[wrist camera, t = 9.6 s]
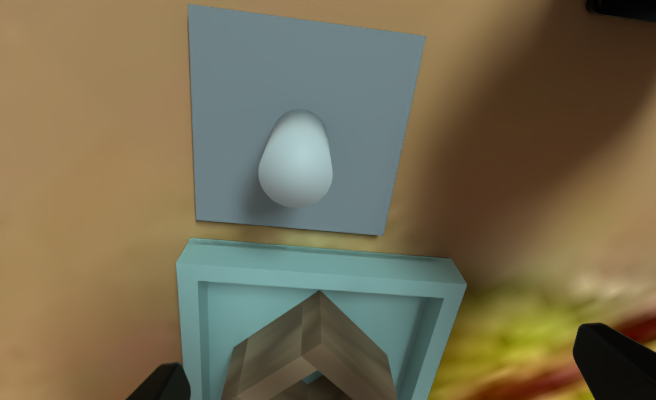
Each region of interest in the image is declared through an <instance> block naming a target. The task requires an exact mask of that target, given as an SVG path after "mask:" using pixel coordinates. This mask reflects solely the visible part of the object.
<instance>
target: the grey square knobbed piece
mask: <svg viewBox="0 0 656 400" xmlns="http://www.w3.org/2000/svg"><path fill="white" fill-rule="evenodd" d="M188 21H189V47H190V73H191V99H192V125H193V152H194V178H195V204H196V220H203V221H215V222H227V223H239V224H251V225H263V226H275V227H286V228H298V229H310V230H322V231H334V232H346V233H358V234H369V235H381V236H383V235H384V230H385V225H386V221H387V216H388V211H389V207H390V202H391V197H392V193H393V188H394V183H395V179H396V174H397V169H398V165H399V160H400V155H401V151H402V146H403V141H404V137H405V132H406V127H407V123H408V118H409V113H410V109H411V104H412V99H413V95H414V90H415V85H416V81H417V76H418V71H419V67H420V62H421V57H422V53H423V48H424V43H425V39H426V36H420V35H413V34H406V33H398V32H391V31H384V30H376V29H369V28H361V27H354V26H347V25H339V24H332V23H324V22H317V21H310V20H302V19H295V18H287V17H280V16H273V15H265V14H258V13H251V12H243V11H236V10H228V9H221V8H214V7H206V6H199V5H191V4H188Z"/></svg>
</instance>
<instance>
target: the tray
mask: <svg viewBox="0 0 656 400" xmlns="http://www.w3.org/2000/svg"><path fill="white" fill-rule="evenodd" d="M176 268H177V283H178V297H179V312H180V327H181V341H182V356H183V369H184V371H185V374H186V376H187V379H188V381H189V384H190V387H191V397H190V400H221V396H222V392H223V388H224V384H225V380H226V376H227V372H228V368H229V364H230V360H231V356H232V352H233V348H234V347H235V346H236V345H238V344H239V343H241V342H242V341H244V340H245V339H247V338H248V337H250V336H251V335H253V334H254V333H256V332H257V331H259V330H260V329H262V328H263V327H265V326H266V325H268V324H269V323H271V322H272V321H274V320H275V319H277V318H278V317H280V316H281V315H283V314H284V313H286V312H287V311H289V310H290V309H292V308H293V307H295V306H296V305H298V304H299V303H301V302H302V301H304V300H305V299H307V298H308V297H310V296H311V295H313V294H314V293H316V292H317V291H319V290H321V291H322V292H323V293H324V294H325V295H326V296H327V297H328V298H329V299H330V300H331V301H332V302H333V303H334V304H335V305H336V306H337V307H338V308H339V309H340V310H341V311H342V312H343V313H344V314H345V315H346V316H347V317H349V318H350V319H351V320H352V321H353V322H354V323H355V324H356V325H357V326H358V327H359V328H360V329H361V330H362V331H363V332H364V333H365V334H366V335H367V336H368V337H369V338H370V339H371V340H372V341H373V342H374V343H375V344H376V345H377V346H378V347H380V348H381V349H382V350H383V351H384V352H385V353H386V354H387V357H388V361H389V365H390V369H391V374H392V378H393V382H394V387H395V391H396V395H397V400H427V398H428V395H429V392H430V389H431V387H432V384H433V381H434V378H435V375H436V372H437V369H438V367H439V364H440V361H441V358H442V355H443V352H444V349H445V347H446V344H447V341H448V338H449V335H450V332H451V330H452V327H453V324H454V321H455V318H456V315H457V312H458V310H459V307H460V304H461V301H462V298H463V295H464V292H465V290H466V287H467V283H466V282H465V280H464V278H463V277H462V275H461V273H460V272H459V270H458V269H457V267H456V265H455V264H454V262H453V260H452V259H450V258H438V257H425V256H413V255H401V254H388V253H376V252H363V251H351V250H338V249H326V248H313V247H301V246H288V245H276V244H263V243H251V242H238V241H226V240H213V239H201V238H190V240H189V242H188V244H187V245H186V247H185V249H184V250H183V252H182V254H181V256H180V257H179V259H178V261H177V262H176ZM322 375H323V374H322V373H321V372H319V371H318V370H317V371H315V372H313V373H312V374H310V375H308V376H307V377H305V378H303V379H302V380H303V381H304V382H305V383H307V384H309V383H310V382H312V381H314V380H315V379H317V378H319V377H321V376H322Z"/></svg>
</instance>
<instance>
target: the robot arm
mask: <svg viewBox="0 0 656 400" xmlns="http://www.w3.org/2000/svg"><path fill="white" fill-rule="evenodd" d="M598 2H599V0H587V2H586V8H587V10H588V12H589V13H591V14H595V15H601V16H608V17H615V18H622V19H629V20H635V21H642V22H649V23H656V0H604V1H603V4H602V5H601V6H599V4H598ZM573 357H574V360H575V362H576V364H577V366H578V368H579V370H580V372H581V374H582V376H583V377H584V379H585V381H586V383H587V385H588V387H589V389H590V391H591V393H592V395H593V397H594V399H595V400H656V352H654V351H652V350H651V349H649V348H647V347H645V346H643V345H642V344H640V343H638V342H636V341H634V340H632V339H631V338H629V337H627V336H625V335H623V334H622V333H620V332H618V331H616V330H614V329H613V328H611V327H609V326H607V325H605V324H603V323H587V324H582V325H581V326H579V328H578V332H577V335H576V339H575V343H574V347H573ZM190 397H191V387H190V384H189V381H188V379H187V376H186V374H185V371H184V369H183V367H182V365H181V364H180V363H178V362H175V363H165V364H162V365H160V366H159V367H157V368H156V369H155V370H154V371H153V372H152V373H151V374H150V375H149V377H148V378H147V379H146V380H145V381H144V382H143V383H142V384H141V385H140V386H139V387H138V388H137V389H136V390H135V391H134V392H133V393H132V394H131V395H130V396H129V397H128V398H127V399H126V400H190Z"/></svg>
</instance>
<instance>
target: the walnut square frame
mask: <svg viewBox="0 0 656 400" xmlns="http://www.w3.org/2000/svg"><path fill="white" fill-rule="evenodd" d="M317 370H318V371H319V372H321V373H322V374H323V375H322V376H321V377H319V378H317V379H315V380H314V381H312V382H310V383H309V384H307V383H305V382H304V381H303V380H302V379H303V378H305V377H307V376H308V375H310V374H312V373H313V372H315V371H317ZM221 400H397V395H396V391H395V387H394V382H393V378H392V374H391V369H390V365H389V361H388V357H387V354H386V353H385V352H384V351H383V350H382V349H381V348H380V347H378V346H377V345H376V344H375V343H374V342H373V341H372V340H371V339H370V338H369V337H368V336H367V335H366V334H365V333H364V332H363V331H362V330H361V329H360V328H359V327H358V326H357V325H356V324H355V323H354V322H353V321H352V320H351V319H350V318H349V317H347V316H346V315H345V314H344V313H343V312H342V311H341V310H340V309H339V308H338V307H337V306H336V305H335V304H334V303H333V302H332V301H331V300H330V299H329V298H328V297H327V296H326V295H325V294H324V293H323V292H322V291H321V290H319V291H317V292H316V293H314V294H313V295H311V296H310V297H308V298H307V299H305V300H304V301H302V302H301V303H299V304H298V305H296V306H295V307H293V308H292V309H290V310H289V311H287V312H286V313H284V314H283V315H281V316H280V317H278V318H277V319H275V320H274V321H272V322H271V323H269V324H268V325H266V326H265V327H263V328H262V329H260V330H259V331H257V332H256V333H254V334H253V335H251V336H250V337H248V338H247V339H245V340H244V341H242V342H241V343H239V344H238V345H236V346H235V347H234V348H233V352H232V356H231V360H230V364H229V368H228V372H227V376H226V380H225V384H224V388H223V392H222V396H221Z"/></svg>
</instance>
